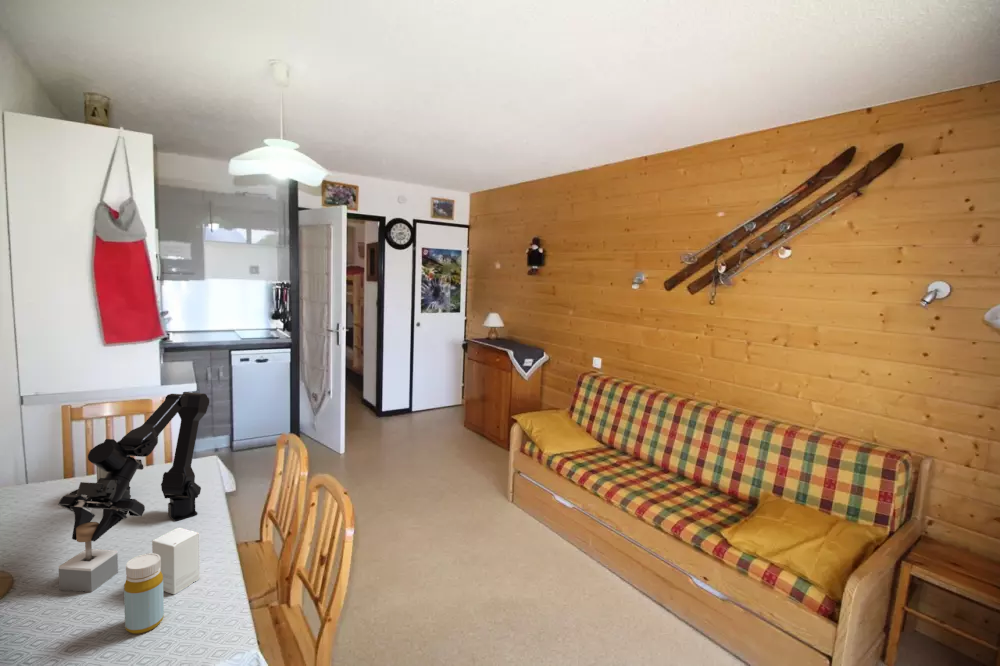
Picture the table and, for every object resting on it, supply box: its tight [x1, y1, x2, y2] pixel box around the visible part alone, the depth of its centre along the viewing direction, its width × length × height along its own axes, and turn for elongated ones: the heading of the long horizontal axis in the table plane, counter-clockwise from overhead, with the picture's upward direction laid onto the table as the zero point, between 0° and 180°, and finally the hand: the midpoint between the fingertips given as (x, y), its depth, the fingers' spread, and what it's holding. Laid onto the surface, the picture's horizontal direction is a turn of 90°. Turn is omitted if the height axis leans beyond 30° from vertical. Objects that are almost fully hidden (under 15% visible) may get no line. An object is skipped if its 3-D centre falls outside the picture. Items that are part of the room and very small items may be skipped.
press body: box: [58, 548, 119, 593], centre depth 124 cm, size 8×8×6 cm
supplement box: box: [151, 527, 201, 595], centre depth 124 cm, size 7×7×13 cm
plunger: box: [75, 521, 100, 561], centre depth 123 cm, size 4×4×9 cm
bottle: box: [123, 553, 165, 635], centre depth 110 cm, size 7×7×15 cm
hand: (83, 540), depth 121 cm, fingers closed on plunger, 4 cm apart
